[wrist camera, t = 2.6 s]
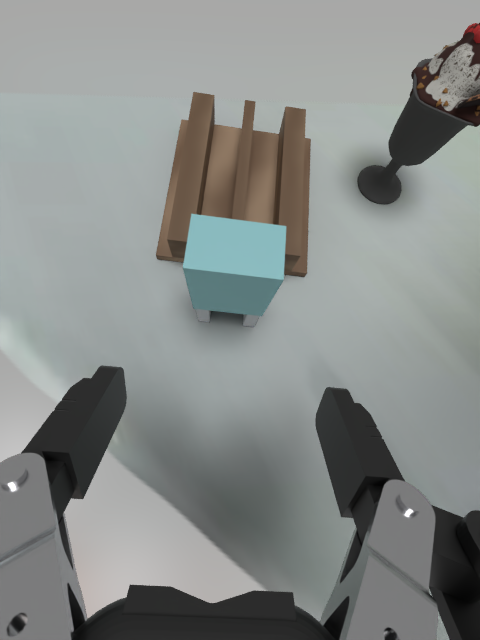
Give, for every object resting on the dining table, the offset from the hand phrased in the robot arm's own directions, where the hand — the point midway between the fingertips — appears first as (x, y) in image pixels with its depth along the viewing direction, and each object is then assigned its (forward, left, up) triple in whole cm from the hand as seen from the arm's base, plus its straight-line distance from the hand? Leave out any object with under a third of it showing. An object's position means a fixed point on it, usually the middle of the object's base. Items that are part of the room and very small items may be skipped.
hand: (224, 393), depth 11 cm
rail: (0, -20, -13) cm, 23 cm away
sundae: (-15, -24, -13) cm, 31 cm away
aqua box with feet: (0, -8, -13) cm, 15 cm away
